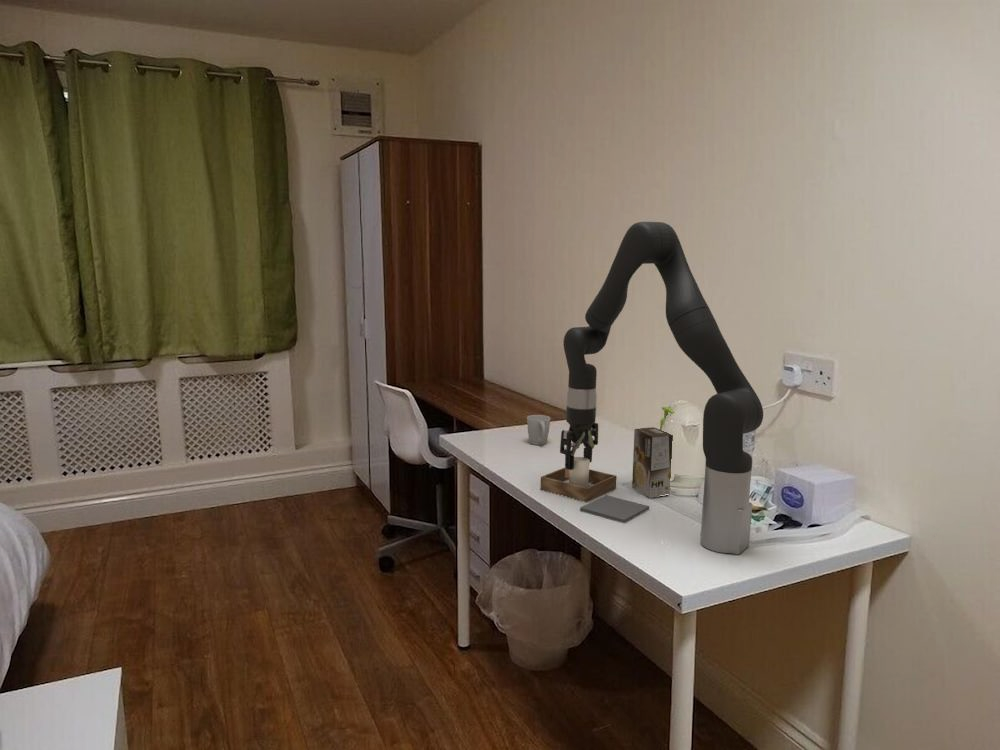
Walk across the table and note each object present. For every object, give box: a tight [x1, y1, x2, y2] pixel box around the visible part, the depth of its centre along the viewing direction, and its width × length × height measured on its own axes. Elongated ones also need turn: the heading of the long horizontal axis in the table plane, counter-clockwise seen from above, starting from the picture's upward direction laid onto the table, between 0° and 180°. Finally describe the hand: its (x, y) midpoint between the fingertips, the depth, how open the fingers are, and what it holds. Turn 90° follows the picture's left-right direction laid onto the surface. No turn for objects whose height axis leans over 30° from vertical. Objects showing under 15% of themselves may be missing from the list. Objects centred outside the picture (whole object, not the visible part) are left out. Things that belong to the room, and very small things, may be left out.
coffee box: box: [631, 426, 673, 499], centre depth 184 cm, size 9×6×16 cm
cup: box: [526, 414, 551, 446], centre depth 229 cm, size 8×10×8 cm
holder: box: [539, 467, 617, 503], centre depth 186 cm, size 14×14×4 cm
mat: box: [579, 494, 650, 524], centre depth 171 cm, size 12×12×1 cm
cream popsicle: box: [564, 456, 591, 488], centre depth 186 cm, size 7×5×8 cm
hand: (578, 465), depth 185 cm, fingers open, 8 cm apart
